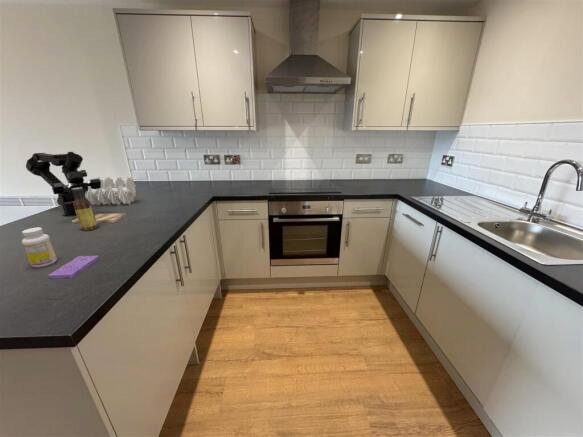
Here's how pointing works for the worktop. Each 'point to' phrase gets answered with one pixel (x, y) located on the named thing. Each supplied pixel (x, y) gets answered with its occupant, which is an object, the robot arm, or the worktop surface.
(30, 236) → the supplement bottle
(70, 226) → the worktop surface
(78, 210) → the sauce bottle
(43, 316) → the worktop surface
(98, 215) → the beech cutting board
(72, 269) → the sponges
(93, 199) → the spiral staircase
